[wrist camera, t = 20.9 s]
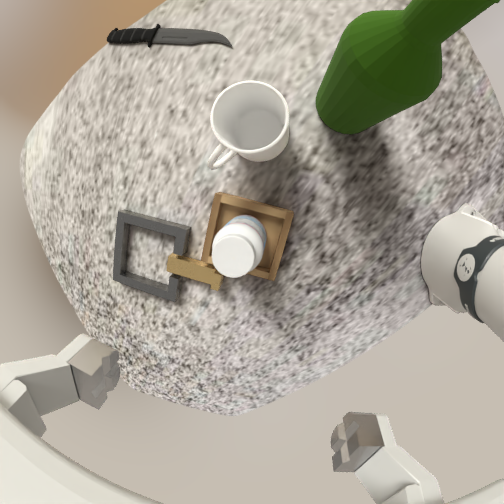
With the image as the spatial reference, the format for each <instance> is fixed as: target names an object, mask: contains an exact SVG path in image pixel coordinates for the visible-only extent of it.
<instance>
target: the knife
mask: <svg viewBox="0 0 504 504" xmlns="http://www.w3.org/2000/svg"><path fill="white" fill-rule="evenodd" d="M117 30H118V29H117V28H115V29H114V30H112V31H111V33H110V34H109V36H108V37H107V42H110V43H120V44H121V43H123V44H124V43H138V42H143V41H144V42H146V41H147V42H148V47H150V46H151V44H152V43H174V44H188V45H190V44H195V43H201V42H220V43H223V44H226V45H229V46H232V45H231V44H230V42H229V41H228V39H227V38H226V37H225V36H223V35H221V34H219V33H216V32H211V31H205V30H196V29H177V28H160V25H159V24H157V26H156V28H153V29H142V28H137V29H136V28H131V29H123V30H118V31H117Z"/></svg>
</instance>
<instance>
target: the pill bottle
mask: <svg viewBox="0 0 504 504" xmlns="http://www.w3.org/2000/svg"><path fill="white" fill-rule="evenodd" d="M266 239H267V234H266V230H265V227H264V226H263V224H262V223H261V222H260V221H259V220H258V219H257V218H255V217H253V216H251V215H239V216H236V217H234V218H233V219H232V220H230V221H229V222H228V223H227V224H226V225H225V226H224V227H223V228H222V229H221V230H220V231H219V232H218V233H217V234H216V236H215V238H214V240H213V245H212V262H213V264H214V266H215V268H216V269H217V270H218V272H220V273H221V274H222V275H224V276H227V277H231V278H237V277H241V276H243V275H245V274H247V273H248V272H250V271H252V270H253V269H254V268H256V267H257V265H258V264H259V263H260V261H261V259H262V256H263V252H264V248H265V244H266Z"/></svg>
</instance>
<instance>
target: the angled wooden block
mask: <svg viewBox="0 0 504 504" xmlns="http://www.w3.org/2000/svg"><path fill="white" fill-rule="evenodd" d="M167 271H168V272H171V273H174V274H177V275H181V276H184V277H187V278H190V279H194V280H197V281H200V282H204V283H207V284H211V288H210V289H213V290H216V291H218V290H219V288H220V287H221V285H222V283H223V279H224V275H222V274H221V273H220V272H218V270H217V269H216V268H215V266H214V265H213V264H210V263H206V262H203V261H199V260H196V259H192V258H189V257H186V256H180V255H177V254H173V253H172V254H171V255H169V257H168V264H167Z"/></svg>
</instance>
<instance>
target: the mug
mask: <svg viewBox="0 0 504 504" xmlns="http://www.w3.org/2000/svg"><path fill="white" fill-rule="evenodd" d="M210 119H211V126H212V130H213V132H214V134H215V136H216V137H217V139H218V140H219V141H220V144H219V145H218V147H217V148H216V149H215V150H214V152H213V153H212V155H211V156H210V158H209V160H208V163H207V165H208V167H209V168H210V169H211V170H215V169H217V168H219V167H221V166H222V165H224V164H225V163H226V162H228V161H229V160H230V159H231V158H232V157H233V156H235V155H236V154H237V153H238V154H239V155H240V156H242V157H243V158H245V159H248V160H250V161H256V162H263V161H268V160H271V159H273V158H275V157H276V156H278V155H279V154H280V153H281V152H282V151H283V150H284V149H285V147H286V145H287V143H288V139H289V127H288V126H289V109H288V105H287V103H286V101H285V99H284V97H283V96H282V95H281V93H280V92H279V91H278V90H276V89H275V88H274V87H272V86H270V85H268V84H266V83H263V82H259V81H243V82H239V83H236V84H233V85H231V86H229V87H228V88H226V89H225V90H224V91H223V92H222V93H221V94H220V95H219V96H218V97H217V99H216V100H215V102H214V104H213V107H212V110H211V117H210ZM227 148H229V149H231V151H230V152H229V153H228V154H227V155H226V156H224V157H223V158H222V159H220V160H219V161H217V162H216V163H215V161H216V160H217V158H218V157H219V156H220V155H221V153H222V152H223V151H224V150H225V149H227Z"/></svg>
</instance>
